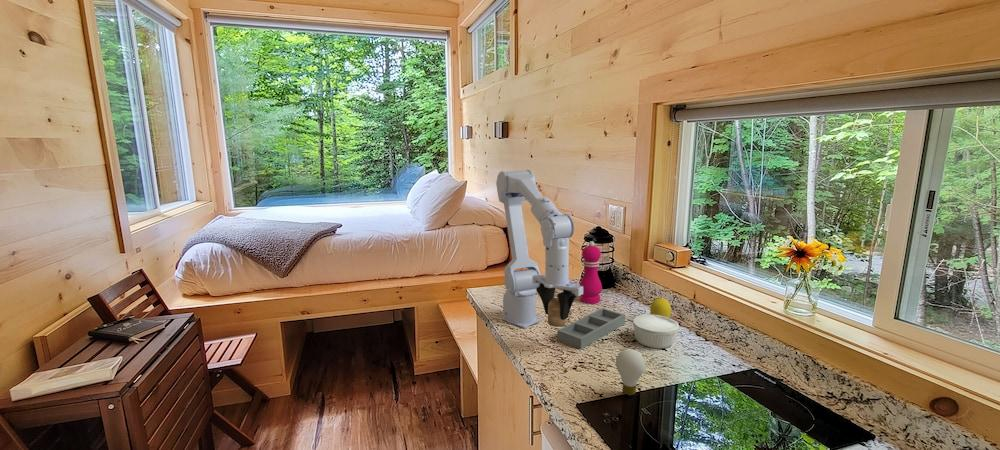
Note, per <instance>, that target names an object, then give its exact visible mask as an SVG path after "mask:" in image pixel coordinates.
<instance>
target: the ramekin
mask: <svg viewBox="0 0 1000 450" xmlns="http://www.w3.org/2000/svg"><path fill="white" fill-rule="evenodd" d="M632 325H633V329H634V335H635V339H636V341H637V342H638V343H639V344H641V345H642V346H645V347H647V348H653V349H667V348H670V347H671V346H672V345H674V343H675V341H676V337H677V332H678V331H679V327H680V326H679V323H678V322H677V321H675V320H674V319H672V318H671V317H670V318H667V317H664V316H660V315H651V313H650V314H641V315H637V316H636V317H634V318H633V320H632Z"/></svg>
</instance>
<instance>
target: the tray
mask: <svg viewBox="0 0 1000 450" xmlns="http://www.w3.org/2000/svg"><path fill="white" fill-rule="evenodd" d="M625 324H626V314H624V313H621V312H617V311H615V310H610V309H608V308H604V307H602V308H600V309H599V308H598V309H597V310H596V311H594V312H591V313H589V314H588V315H586V316H583V317H581V318H579V319H577V320H576V321H573V322H571V323H569V324H566V325H564V326H562V327H561V328H559V329H557V337H556V338H557V339H556V340H557V341H558V342H562V343H564V344H566V345H569V346H572V347H574V348H577V349H580V350H583V349H584V348H586V347H588V346H589V345H591V344H593V343H594V342H596V341H598V340H599V339H601V338H604V337H605V336H606V335H608V334H611V332H614V331H616V330H617V329H619V328H620V327H622V326H624V325H625Z"/></svg>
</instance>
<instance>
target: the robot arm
mask: <svg viewBox="0 0 1000 450" xmlns="http://www.w3.org/2000/svg"><path fill="white" fill-rule="evenodd" d="M495 184H496V190H497V191H496V192H497V197H498V201H499V202H500V203H501V204H503V206H504V212H505V213H504V214H505V221H506V226H507V228H506V229H507V235H508V240H509V245H510V246H509V247H510V252H511V260H510V261H509V263H507V265H505V267H504V270H503V271H504V277H503V279H504V280H503V283H504V286H505V289H506V291H504V293H503V297H502V307H503V308H502V309H503V310H502V311H503V312H502V313H503V315H502V317H501V320H503V321H506V322H507V323H510V324H513V325H515V326H518V327H521V328H523V329H525V328H528V327H531V326H533V325H535V324H537V323H539V322H541V321H542V320H543V318H542V317H539V316H537V313H536V311H537V308H536V306H537V305H536V302H537V301H536V298H537V297H536V294H537V295H539V297H540V299H541V302H542V306H543V309H544V313H545V315H547V316H548V303H549V302H550V300H551V299H553V298H555V292H556V289H557V290H560V291H561V292H559V293H557V298H558V299H559V303H560V316H561V319H562V320H565V321H566V320H567V319H568V318H569V314H570V311H571V309H572V308H571V307H572V306H573V303H574V301H575V300H576V298H577V297H581V295H582V294H583V286H580V284H577V283H575V282H573V281H572V280H570V279H569V277H570V275H569V273H570V271H569V265H570V264H569V263H570V238H572V237H573V235H574V233H575V224H574V221H573V218H572V217H571V215H570V214H566V213H565V214H564V212H562V213H561V212H560V210H559V209H558V208H557V206H556V205H555V204H554V203H553V201H552V200H551V199H550V197H547V196H543V195H542V194H541V192H540V190H539V189H538V187H537V186H536V176H535V174H534V172H533V171H532V170H531V169H526V170H516V171H515V170H514V171H513V170H512V171H503V170H501V171H500V172H499V173H498V174H497V178H496V181H495ZM525 201H527V202H528V203H529V205H531V206H530V212H531V214H532V215H533V216H534V218H535V219H536V220H537V221H538V223H539V225H540V232H541V236H542V243H543V246H544V248H545V249H544V250H545V255H544V257H545V258H544V259H545V260H544V262H545V263H544V264H545V265H544V266H545V268H544V269H545V273H544V274H545V275H544V274H542V273H541V270H540V269H539V264H538V262H537V261H535V260H533V259H532V258H530V255H529V248H528V242H527V236H526V229H525V221H524V215H523V209H522V204H523V202H525ZM525 268H526V269H525ZM518 269H519V270H518Z"/></svg>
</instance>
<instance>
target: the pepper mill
mask: <svg viewBox="0 0 1000 450" xmlns="http://www.w3.org/2000/svg"><path fill="white" fill-rule="evenodd" d="M581 256H582V259H583V267H584V273H583V275H582V276H583V277H582V278H581V281H580V282H579V283H580V284H579V285H580V286H583V294H582V295H580V301H581V302H582V303H584V304H590V305H595V304H598V303H600V302H601V295H600V294H601V292H602V291H603V285H602V282H601V279H600V277H599V274H598V273H599V272H598V269H599V268H598V267H599V266H600V261H599V259H601V256H602V252H601V250H600V248H599V247H598V246H596V245H595V242H594V241H591V240H590V241H589V242H588V246H587V245H586V246H584V248H583V249H582V251H581Z"/></svg>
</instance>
